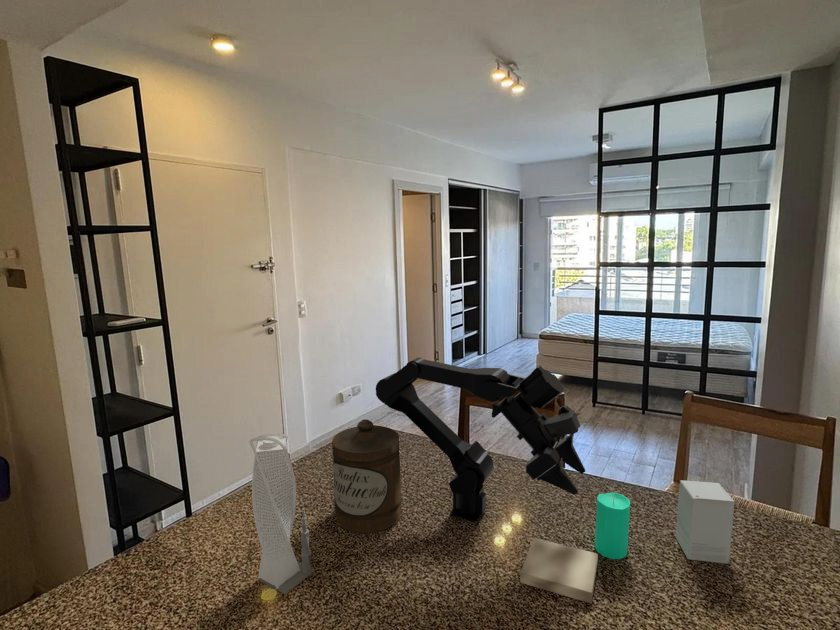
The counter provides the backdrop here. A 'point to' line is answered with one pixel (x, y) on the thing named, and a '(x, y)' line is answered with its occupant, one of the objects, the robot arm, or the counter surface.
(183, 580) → the counter surface
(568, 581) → the beige square slab
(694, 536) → the supplement box
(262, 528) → the skyscraper
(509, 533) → the counter surface
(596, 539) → the candle
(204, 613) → the counter surface
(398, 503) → the wooden container
